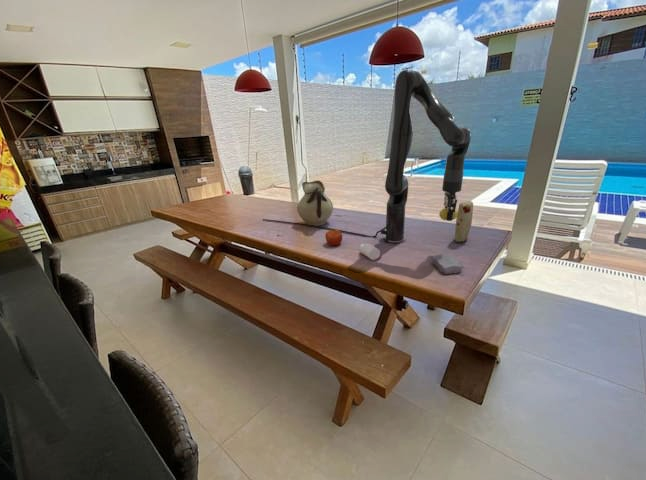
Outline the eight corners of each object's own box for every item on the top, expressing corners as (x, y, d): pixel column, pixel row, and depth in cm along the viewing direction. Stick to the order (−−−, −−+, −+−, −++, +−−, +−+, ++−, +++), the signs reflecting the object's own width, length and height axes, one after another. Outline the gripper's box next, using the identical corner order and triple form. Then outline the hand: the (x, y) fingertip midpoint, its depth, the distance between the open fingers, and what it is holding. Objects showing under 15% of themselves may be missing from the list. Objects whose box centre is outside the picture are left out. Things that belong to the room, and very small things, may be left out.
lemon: (439, 221, 134) (441, 210, 132) (437, 218, 139) (439, 206, 137) (458, 221, 133) (459, 209, 131) (455, 218, 138) (457, 206, 136)
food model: (463, 244, 150) (469, 204, 141) (450, 241, 154) (455, 202, 146) (471, 239, 156) (477, 200, 147) (458, 236, 160) (463, 198, 152)
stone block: (451, 264, 135) (430, 262, 134) (455, 254, 133) (433, 252, 132) (464, 277, 125) (441, 275, 123) (468, 267, 123) (445, 264, 121)
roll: (367, 249, 151) (367, 239, 149) (380, 258, 141) (380, 247, 138) (356, 252, 149) (356, 241, 147) (368, 261, 139) (368, 249, 137)
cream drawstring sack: (313, 216, 208) (310, 178, 197) (342, 221, 196) (340, 181, 185) (291, 225, 192) (286, 185, 181) (321, 231, 179) (318, 188, 169)
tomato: (331, 248, 155) (331, 233, 151) (322, 243, 162) (321, 229, 158) (346, 244, 159) (346, 229, 155) (337, 239, 166) (336, 225, 163)
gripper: (440, 176, 135) (436, 214, 143) (446, 183, 123) (442, 223, 130) (458, 176, 134) (453, 213, 142) (466, 182, 121) (460, 223, 129)
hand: (447, 218), depth 136 cm, fingers closed on lemon, 5 cm apart
